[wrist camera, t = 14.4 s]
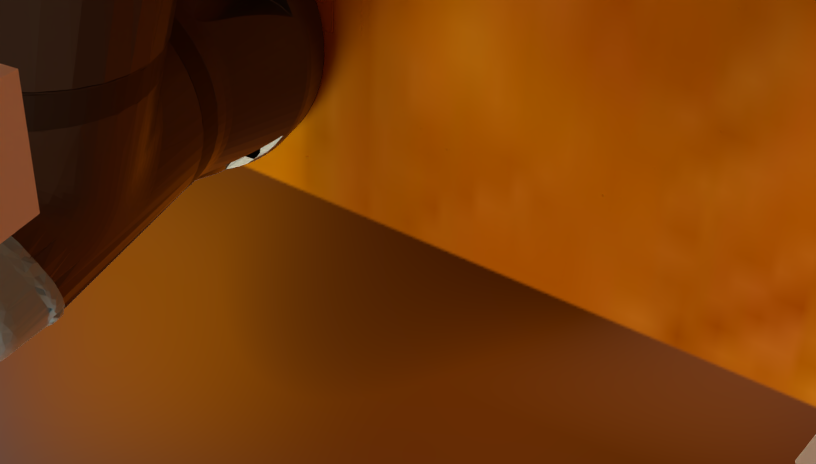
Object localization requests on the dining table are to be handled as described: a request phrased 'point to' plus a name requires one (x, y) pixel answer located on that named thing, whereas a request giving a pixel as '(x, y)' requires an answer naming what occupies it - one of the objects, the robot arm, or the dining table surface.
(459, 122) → the dining table surface
